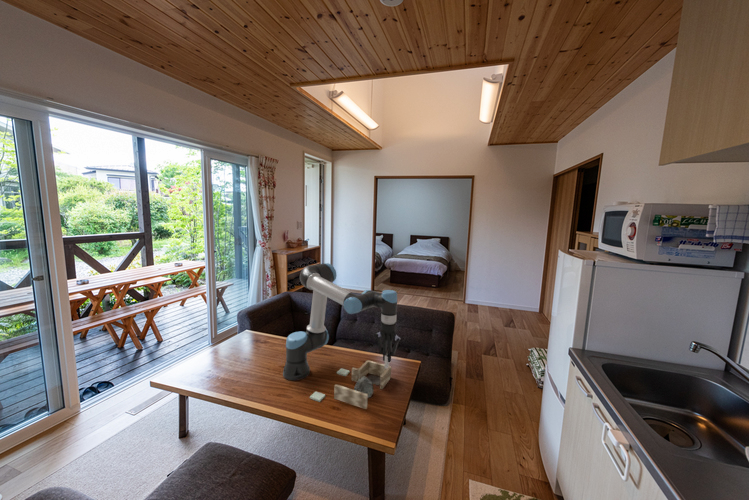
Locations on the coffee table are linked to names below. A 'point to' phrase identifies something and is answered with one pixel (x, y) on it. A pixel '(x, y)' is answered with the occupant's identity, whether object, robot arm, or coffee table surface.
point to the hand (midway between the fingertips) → (386, 367)
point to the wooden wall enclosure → (368, 367)
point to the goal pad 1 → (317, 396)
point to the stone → (364, 386)
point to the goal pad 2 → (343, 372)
